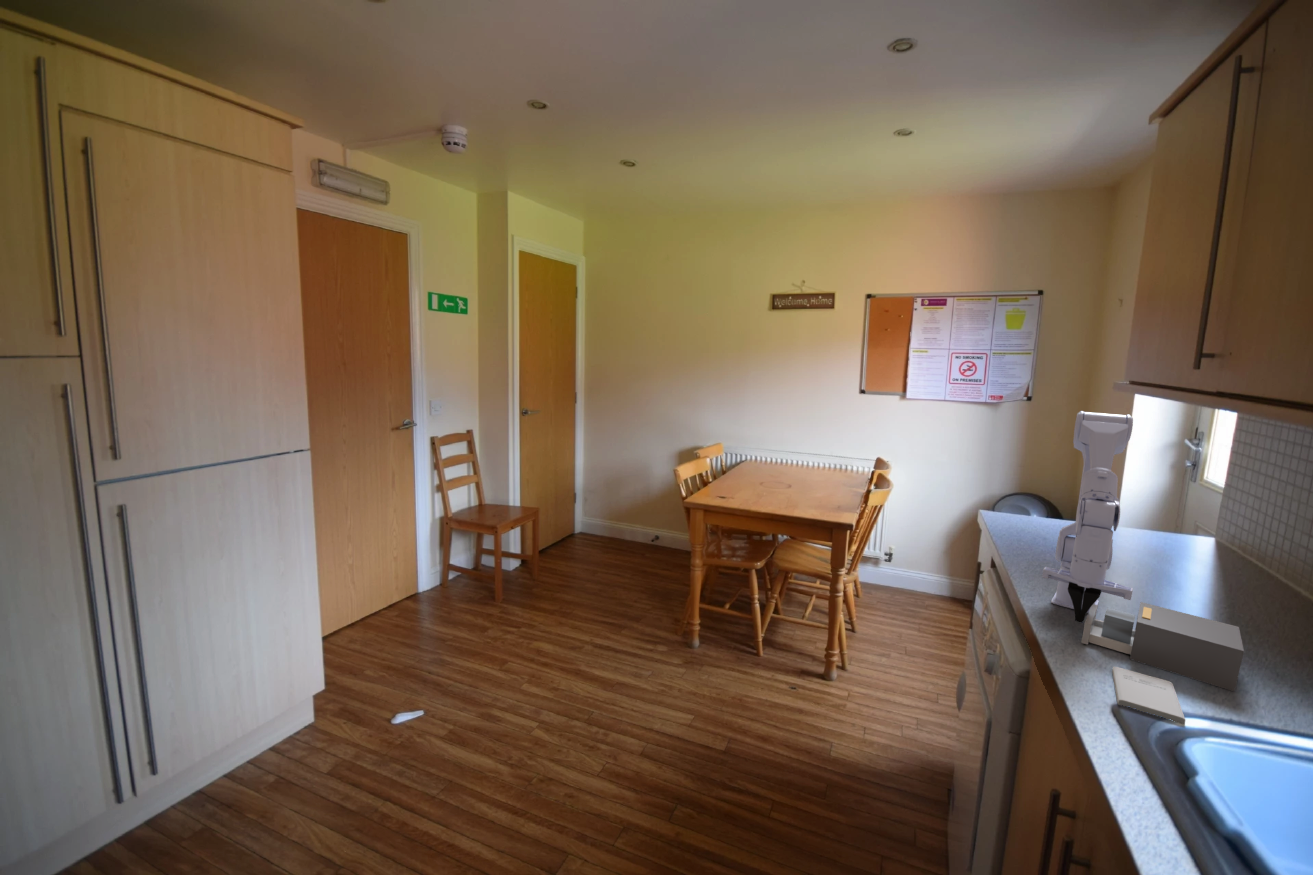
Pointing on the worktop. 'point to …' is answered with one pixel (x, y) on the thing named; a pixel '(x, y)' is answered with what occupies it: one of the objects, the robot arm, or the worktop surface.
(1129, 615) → the block
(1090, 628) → the tray
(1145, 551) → the worktop surface
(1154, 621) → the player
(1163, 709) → the external hard drive
